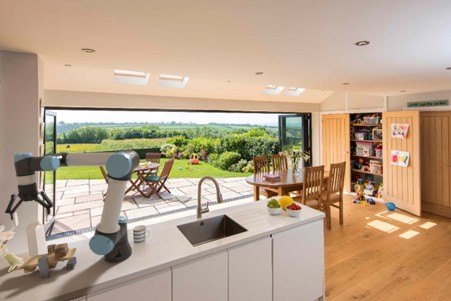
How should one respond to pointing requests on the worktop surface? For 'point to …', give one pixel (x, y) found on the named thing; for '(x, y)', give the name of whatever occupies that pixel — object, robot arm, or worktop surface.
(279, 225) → the worktop surface
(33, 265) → the tan piece
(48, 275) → the fulcrum
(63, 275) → the worktop surface
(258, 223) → the worktop surface
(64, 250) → the block
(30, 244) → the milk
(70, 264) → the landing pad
